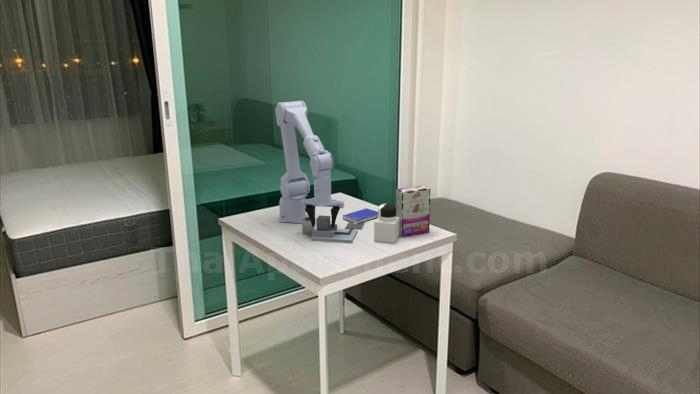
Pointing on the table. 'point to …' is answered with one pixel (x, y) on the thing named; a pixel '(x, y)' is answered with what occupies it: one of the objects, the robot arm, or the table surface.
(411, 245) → the table surface
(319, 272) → the table surface
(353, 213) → the hard drive
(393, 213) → the medicine bottle
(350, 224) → the mat
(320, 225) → the block
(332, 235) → the blue-grey panel
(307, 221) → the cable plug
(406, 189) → the candy bar box
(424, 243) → the table surface
